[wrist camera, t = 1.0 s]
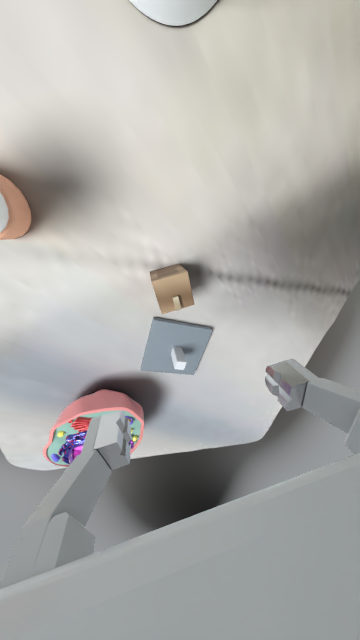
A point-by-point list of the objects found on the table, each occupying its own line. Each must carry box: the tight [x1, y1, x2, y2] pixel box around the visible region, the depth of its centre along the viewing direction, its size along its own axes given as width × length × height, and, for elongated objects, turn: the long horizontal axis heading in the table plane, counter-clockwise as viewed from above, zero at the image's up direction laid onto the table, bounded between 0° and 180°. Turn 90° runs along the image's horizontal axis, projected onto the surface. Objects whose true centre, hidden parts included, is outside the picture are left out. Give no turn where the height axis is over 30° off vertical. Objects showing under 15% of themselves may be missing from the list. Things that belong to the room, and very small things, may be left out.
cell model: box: [43, 389, 144, 467], centre depth 35 cm, size 17×20×11 cm
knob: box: [150, 264, 194, 314], centre depth 26 cm, size 5×5×7 cm
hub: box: [141, 317, 213, 375], centre depth 33 cm, size 12×12×6 cm
